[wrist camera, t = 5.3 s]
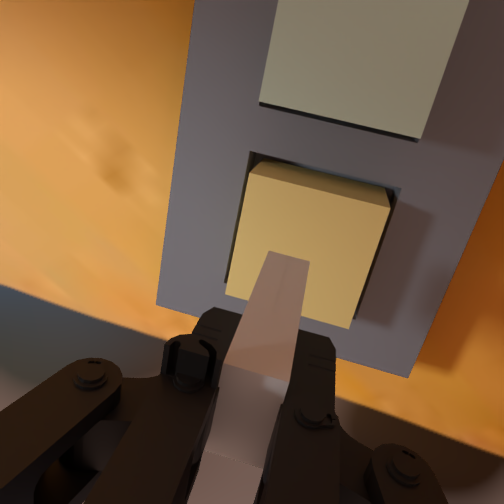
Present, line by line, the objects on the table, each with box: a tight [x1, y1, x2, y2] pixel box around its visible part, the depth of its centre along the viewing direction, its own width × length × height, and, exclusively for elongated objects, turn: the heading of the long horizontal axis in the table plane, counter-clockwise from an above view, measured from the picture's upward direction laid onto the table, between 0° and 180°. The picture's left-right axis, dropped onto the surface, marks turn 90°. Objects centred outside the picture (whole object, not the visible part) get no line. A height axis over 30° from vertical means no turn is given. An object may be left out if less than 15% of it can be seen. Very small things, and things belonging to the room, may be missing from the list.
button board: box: [156, 0, 504, 378], centre depth 19 cm, size 14×30×2 cm, turn 168°
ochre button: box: [225, 158, 391, 329], centre depth 21 cm, size 6×6×4 cm
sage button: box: [259, 0, 469, 139], centre depth 16 cm, size 6×6×4 cm
